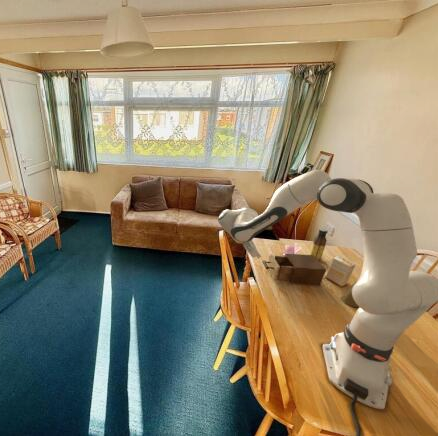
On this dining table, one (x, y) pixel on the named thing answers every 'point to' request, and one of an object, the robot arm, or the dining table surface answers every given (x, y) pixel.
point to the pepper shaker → (350, 297)
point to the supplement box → (340, 270)
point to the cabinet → (306, 269)
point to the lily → (291, 249)
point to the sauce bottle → (319, 244)
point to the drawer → (279, 267)
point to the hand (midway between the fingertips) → (256, 251)
